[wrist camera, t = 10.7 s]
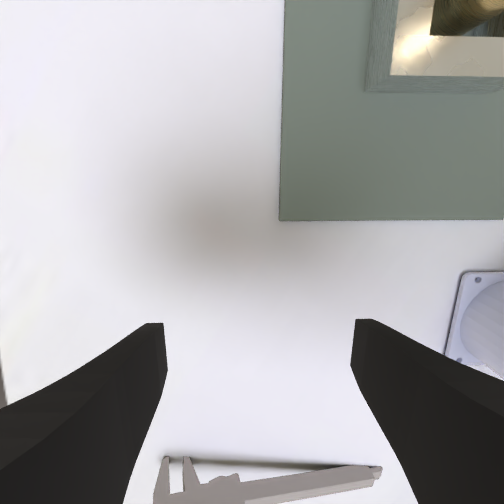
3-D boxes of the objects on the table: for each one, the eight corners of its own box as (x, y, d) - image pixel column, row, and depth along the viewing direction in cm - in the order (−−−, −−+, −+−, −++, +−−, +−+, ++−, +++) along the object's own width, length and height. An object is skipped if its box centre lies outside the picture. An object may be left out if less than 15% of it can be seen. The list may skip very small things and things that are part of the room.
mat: (575, -105, 16) (584, -113, 15) (498, 218, 20) (503, 219, 20) (288, -117, 15) (289, -125, 15) (278, 220, 20) (279, 220, 19)
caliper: (163, 461, 26) (140, 550, 20) (163, 452, 25) (140, 539, 19) (378, 471, 27) (417, 556, 21) (380, 462, 27) (421, 547, 21)
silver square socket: (521, -67, 16) (590, -126, 12) (488, 94, 18) (540, 77, 15) (379, -72, 15) (414, -135, 12) (363, 92, 17) (389, 75, 14)
